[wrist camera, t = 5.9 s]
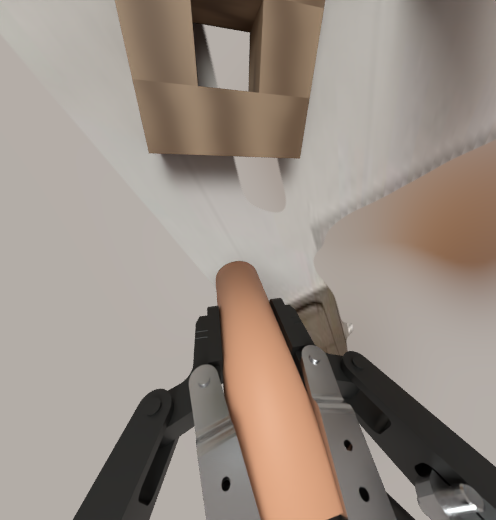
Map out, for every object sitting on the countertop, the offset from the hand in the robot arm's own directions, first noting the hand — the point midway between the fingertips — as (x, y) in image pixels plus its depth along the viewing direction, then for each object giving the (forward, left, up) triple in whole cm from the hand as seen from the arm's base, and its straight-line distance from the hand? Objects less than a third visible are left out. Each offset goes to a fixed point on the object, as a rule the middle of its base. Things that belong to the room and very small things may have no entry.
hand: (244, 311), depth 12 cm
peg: (0, 0, -4) cm, 4 cm away
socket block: (-1, -17, -18) cm, 25 cm away
